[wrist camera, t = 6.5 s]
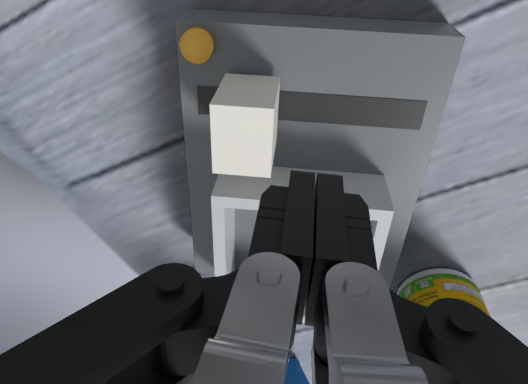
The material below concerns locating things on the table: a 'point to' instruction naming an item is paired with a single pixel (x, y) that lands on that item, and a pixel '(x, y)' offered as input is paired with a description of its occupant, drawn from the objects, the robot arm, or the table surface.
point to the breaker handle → (244, 125)
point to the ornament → (295, 373)
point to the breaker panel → (315, 116)
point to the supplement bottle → (441, 288)
